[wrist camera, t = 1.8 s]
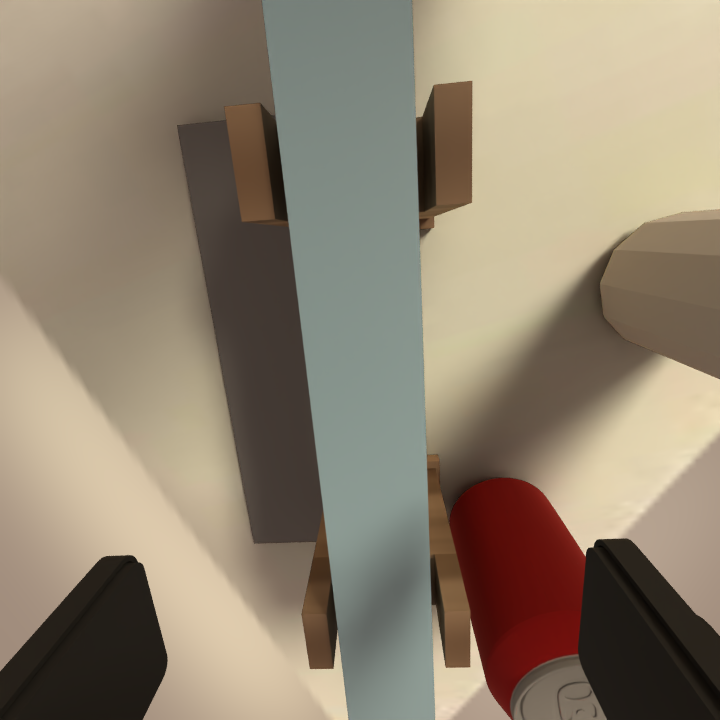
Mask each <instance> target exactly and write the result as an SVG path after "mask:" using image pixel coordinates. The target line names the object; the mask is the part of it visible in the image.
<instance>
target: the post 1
mask: <svg viewBox="0 0 720 720" xmlns="http://www.w3.org/2000/svg"><path fill="white" fill-rule="evenodd" d="M224 109H225V115H226V122H227V128H228V135H229V141H230V148H231V154H232V161H233V168H234V174H235V181H236V187H237V194H238V200H239V207H240V213H241V220H242V222H247V223H257V224H266V225H275V226H285V227H289V222H288V213H287V205H286V197H285V188H284V180H283V172H282V164H281V155H280V147H279V139H278V131H277V122H276V120H275V119H274V118H273V117H272V116H271V115H270V114H269V112H268V111H267V110H266V109H265V108H264V107H263V106H262V105H261V103H254V104H245V105H235V106H225V107H224ZM416 141H417V172H418V203H419V229H427V228H434V216H437V215H439V214H442V213H445V212H448V211H450V210H453V209H456V208H458V207H461V206H464V205H467V204H469V203H472V81H467V82H457V83H448V84H438V85H434V86H433V89H432V92H431V94H430V97H429V100H428V103H427V105H426V108H425V111H424V114H423V117H417V118H416Z"/></svg>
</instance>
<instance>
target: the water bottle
mask: <svg viewBox="0 0 720 720" xmlns="http://www.w3.org/2000/svg"><path fill="white" fill-rule="evenodd" d="M600 291H601V299H602V308H603V316H604V317H605V319H606V320H607V321H608V322H609V323H610V324H611V325H612V326H613V327H614V329H615V330H616V331H617V332H618V333H619V334H620V335H621V336H622V337H623V339H625V340H627V341H630V342H632V343H635V344H637V345H639V346H642V347H644V348H646V349H649V350H651V351H654V352H656V353H658V354H661V355H663V356H666V357H668V358H670V359H673V360H675V361H678V362H680V363H682V364H685V365H687V366H689V367H692V368H694V369H697V370H699V371H701V372H704V373H706V374H709V375H711V376H713V377H716V378H718V379H720V209H717V210H705V211H692V212H681V213H678V214H674V215H671V216H667V217H664V218H660V219H657V220H653V221H650V222H646V223H644V224H642V225H641V226H640V227H639V228H638V229H637V230H636V231H635V232H633V233H632V234H631V235H630V236H629V237H628V238H627V239H626V240H624V241H623V242H622V243H621V244H620V245H619V246H618V247H617V248H615V249H614V251H613V253H612V256H611V258H610V260H609V263H608V265H607V268H606V270H605V272H604V275H603V277H602V279H601V282H600Z"/></svg>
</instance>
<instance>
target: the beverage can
mask: <svg viewBox="0 0 720 720" xmlns="http://www.w3.org/2000/svg"><path fill="white" fill-rule="evenodd" d="M450 530H451V534H452V538H453V542H454V546H455V550H456V554H457V558H458V562H459V567H460V571H461V575H462V579H463V583H464V587H465V591H466V595H467V599H468V603H469V608H470V618H471V622H472V626H473V630H474V634H475V638H476V642H477V646H478V650H479V654H480V658H481V662H482V666H483V670H484V674H485V678H486V682H487V685H488V688H489V690H490V692H491V693H492V695H493V697H494V698H495V699H496V701H497V702H498V704H499V705H500V706H501V707H502V708H503V710H504V711H505V712H506V713H507V715H508V716H509V717H510V718H511V719H512V720H607V719H606V717H605V715H604V713H603V710H602V708H601V706H600V704H599V702H598V700H597V698H596V696H595V694H594V692H593V690H592V688H591V686H590V684H589V682H588V680H587V678H586V676H585V673H584V671H583V669H582V666H581V663H580V660H579V655H578V641H579V630H580V618H581V607H582V596H583V584H584V573H585V562H586V557H585V555H584V554H583V552H582V550H581V549H580V547H579V546H578V544H577V543H576V541H575V540H574V538H573V537H572V535H571V534H570V532H569V531H568V529H567V528H566V526H565V524H564V523H563V521H562V520H561V518H560V517H559V515H558V514H557V512H556V511H555V509H554V508H553V506H552V505H551V503H550V502H549V500H548V499H547V498H546V496H545V495H544V494H543V493H542V492H541V491H540V490H539V489H538V488H536V487H535V486H533V485H531V484H529V483H527V482H525V481H522V480H518V479H513V478H495V479H490V480H486V481H483V482H481V483H478V484H476V485H474V486H473V487H471V488H470V489H468V490H467V491H466V492H464V493H463V494H462V495H461V496H460V498H459V499H458V500H457V501H456V503H455V505H454V507H453V509H452V512H451V515H450Z"/></svg>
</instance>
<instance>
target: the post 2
mask: <svg viewBox="0 0 720 720" xmlns="http://www.w3.org/2000/svg"><path fill="white" fill-rule="evenodd" d="M427 483H428V514H429V545H430V576H431V605H436V608H437V614H438V621H439V627H440V634H441V640H442V647H443V653H444V660H445V666H446V668H455V667H470V608H469V603H468V599H467V595H466V591H465V587H464V583H463V579H462V575H461V571H460V567H459V562H458V558H457V554H456V550H455V546H454V542H453V538H452V534H451V530H450V525H449V521H448V517H447V513H446V509H445V505H444V501H443V497H442V493H441V489H440V467H439V458H438V455H427ZM302 620H303V626H304V633H305V639H306V646H307V653H308V659H309V666H310V669H333V667H334V658H335V649H336V639H337V630H338V627H337V619H336V611H335V602H334V594H333V586H332V577H331V569H330V561H329V553H328V544H327V536H326V528H325V520H324V511H323V513H322V517H321V522H320V527H319V532H318V537H317V542H316V547H315V552H314V556H313V561H312V566H311V571H310V576H309V581H308V586H307V591H306V595H305V600H304V605H303V610H302Z"/></svg>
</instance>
